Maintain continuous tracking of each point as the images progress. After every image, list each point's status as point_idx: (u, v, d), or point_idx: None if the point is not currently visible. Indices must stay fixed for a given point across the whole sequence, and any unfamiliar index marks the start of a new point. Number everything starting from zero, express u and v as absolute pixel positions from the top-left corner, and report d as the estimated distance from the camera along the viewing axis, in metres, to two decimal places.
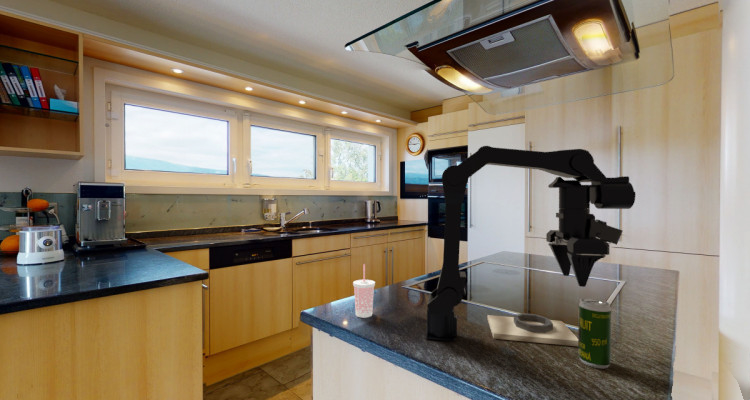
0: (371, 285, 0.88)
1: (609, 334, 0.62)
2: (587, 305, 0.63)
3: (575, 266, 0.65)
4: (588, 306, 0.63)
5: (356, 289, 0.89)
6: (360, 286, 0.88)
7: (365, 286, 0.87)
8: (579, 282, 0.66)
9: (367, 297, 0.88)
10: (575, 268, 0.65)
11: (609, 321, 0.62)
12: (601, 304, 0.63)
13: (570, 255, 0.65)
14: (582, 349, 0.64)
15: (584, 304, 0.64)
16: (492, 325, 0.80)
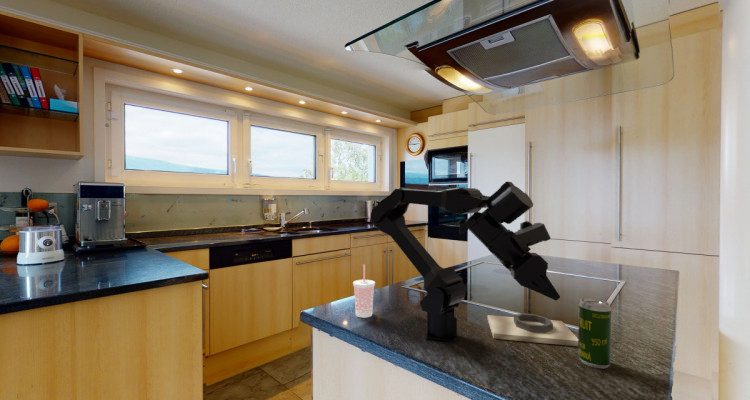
0: (371, 285, 0.88)
1: (609, 334, 0.62)
2: (587, 305, 0.63)
3: (536, 289, 0.61)
4: (588, 306, 0.63)
5: (356, 289, 0.89)
6: (360, 286, 0.88)
7: (365, 286, 0.87)
8: (552, 298, 0.62)
9: (367, 297, 0.88)
10: (537, 291, 0.61)
11: (609, 321, 0.62)
12: (601, 304, 0.63)
13: (523, 285, 0.61)
14: (582, 349, 0.64)
15: (584, 304, 0.64)
16: (492, 325, 0.80)
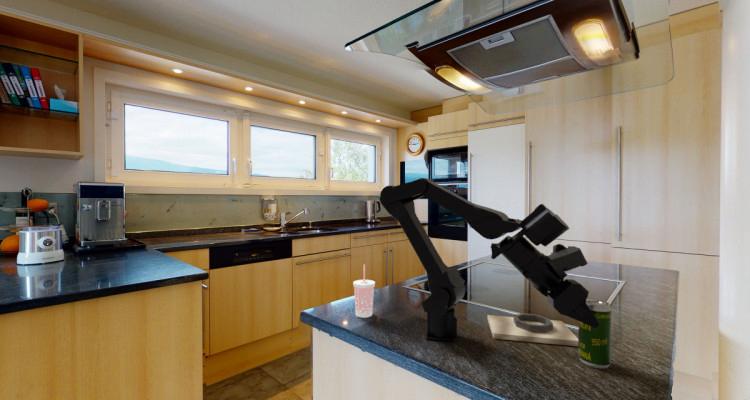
0: (371, 285, 0.88)
1: (609, 334, 0.62)
2: None
3: (575, 317, 0.60)
4: (588, 306, 0.63)
5: (356, 289, 0.89)
6: (360, 286, 0.88)
7: (365, 286, 0.87)
8: (592, 325, 0.60)
9: (367, 297, 0.88)
10: (576, 319, 0.60)
11: (609, 321, 0.62)
12: (601, 304, 0.63)
13: None
14: (582, 349, 0.64)
15: None
16: (492, 325, 0.80)
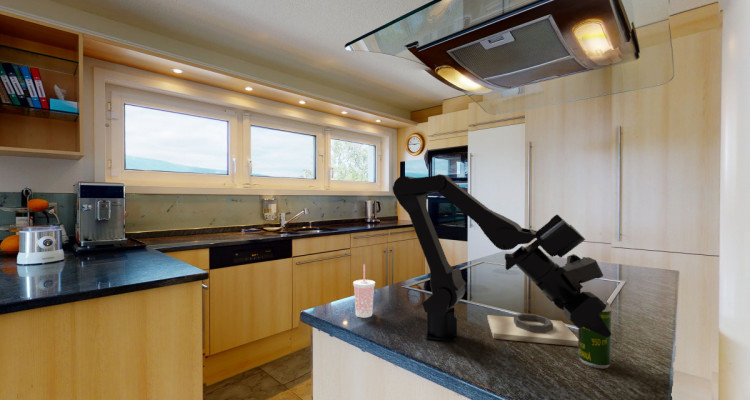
0: (371, 285, 0.88)
1: None
2: None
3: (587, 327, 0.61)
4: None
5: (356, 289, 0.89)
6: (360, 286, 0.88)
7: (365, 286, 0.87)
8: (604, 335, 0.61)
9: (367, 297, 0.88)
10: (589, 328, 0.61)
11: (609, 321, 0.62)
12: None
13: None
14: (582, 349, 0.64)
15: None
16: (492, 325, 0.80)
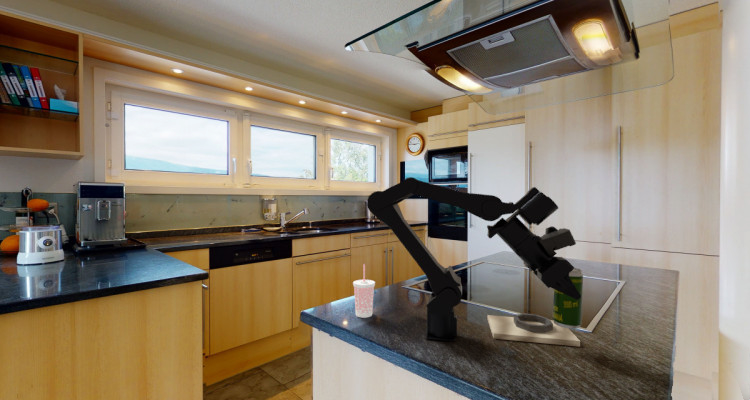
0: (371, 285, 0.88)
1: None
2: None
3: (558, 289, 0.67)
4: None
5: (356, 289, 0.89)
6: (360, 286, 0.88)
7: (365, 286, 0.87)
8: (574, 297, 0.67)
9: (367, 297, 0.88)
10: (560, 290, 0.67)
11: (580, 285, 0.68)
12: (573, 270, 0.68)
13: None
14: (556, 312, 0.70)
15: None
16: (492, 325, 0.80)
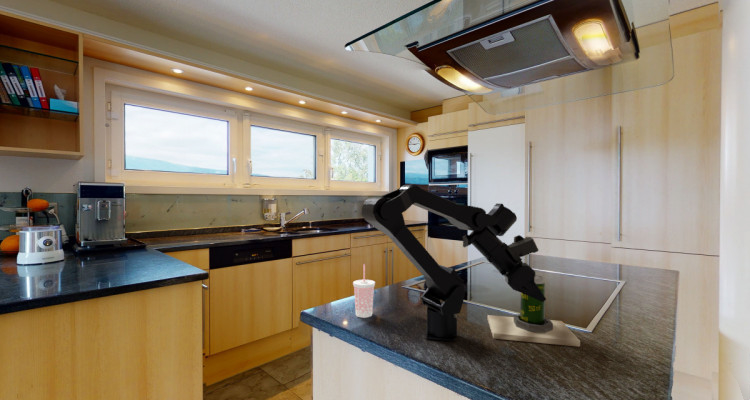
0: (371, 285, 0.88)
1: (542, 302, 0.78)
2: None
3: (526, 293, 0.75)
4: None
5: (356, 289, 0.89)
6: (360, 286, 0.88)
7: (365, 286, 0.87)
8: (539, 300, 0.75)
9: (367, 297, 0.88)
10: (527, 294, 0.75)
11: (542, 291, 0.78)
12: (536, 278, 0.78)
13: (515, 290, 0.74)
14: (522, 315, 0.79)
15: None
16: (492, 325, 0.80)
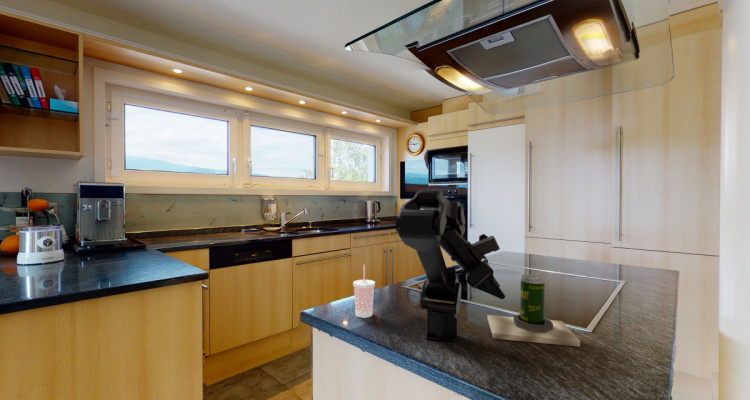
0: (371, 285, 0.88)
1: (542, 302, 0.78)
2: (525, 279, 0.79)
3: (485, 290, 0.77)
4: (526, 280, 0.79)
5: (356, 289, 0.89)
6: (360, 286, 0.88)
7: (365, 286, 0.87)
8: (499, 297, 0.77)
9: (367, 297, 0.88)
10: (487, 291, 0.77)
11: (542, 291, 0.78)
12: (536, 278, 0.78)
13: None
14: (522, 315, 0.79)
15: (523, 278, 0.79)
16: (492, 325, 0.80)
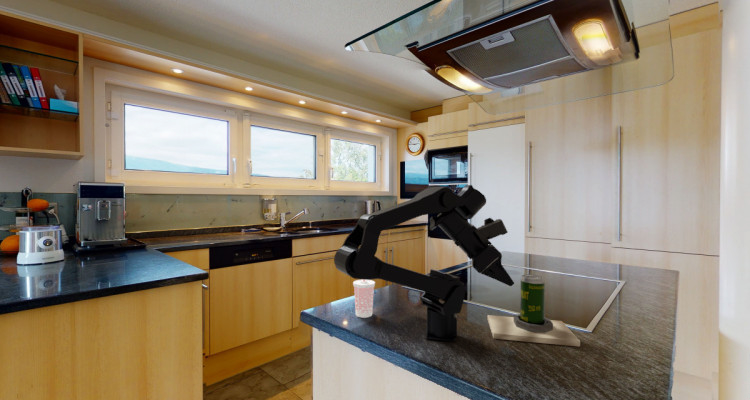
0: (371, 285, 0.88)
1: (542, 302, 0.78)
2: (525, 279, 0.79)
3: (493, 276, 0.71)
4: (526, 280, 0.79)
5: (356, 289, 0.89)
6: (360, 286, 0.88)
7: (365, 286, 0.87)
8: (507, 284, 0.71)
9: (367, 297, 0.88)
10: (494, 278, 0.71)
11: (542, 291, 0.78)
12: (536, 278, 0.78)
13: None
14: (522, 315, 0.79)
15: (523, 278, 0.79)
16: (492, 325, 0.80)
